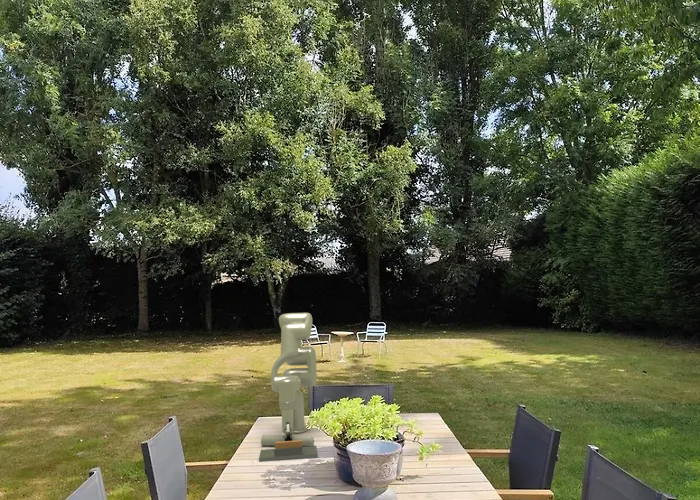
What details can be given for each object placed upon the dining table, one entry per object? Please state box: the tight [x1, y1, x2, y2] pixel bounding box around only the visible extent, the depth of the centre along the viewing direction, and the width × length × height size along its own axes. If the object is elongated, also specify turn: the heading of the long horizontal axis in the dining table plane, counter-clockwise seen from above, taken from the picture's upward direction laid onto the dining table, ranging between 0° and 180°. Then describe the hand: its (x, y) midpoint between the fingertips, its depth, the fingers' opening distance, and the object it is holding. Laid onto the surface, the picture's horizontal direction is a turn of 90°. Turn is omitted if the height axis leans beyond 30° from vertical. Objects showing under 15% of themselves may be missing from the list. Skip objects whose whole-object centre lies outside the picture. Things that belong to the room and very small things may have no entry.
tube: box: [260, 434, 315, 447], centre depth 263 cm, size 5×5×25 cm
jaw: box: [274, 440, 302, 449], centre depth 254 cm, size 2×12×3 cm, turn 96°
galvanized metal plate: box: [258, 445, 319, 462], centre depth 249 cm, size 12×25×4 cm, turn 95°
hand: (288, 444), depth 263 cm, fingers closed on tube, 5 cm apart
